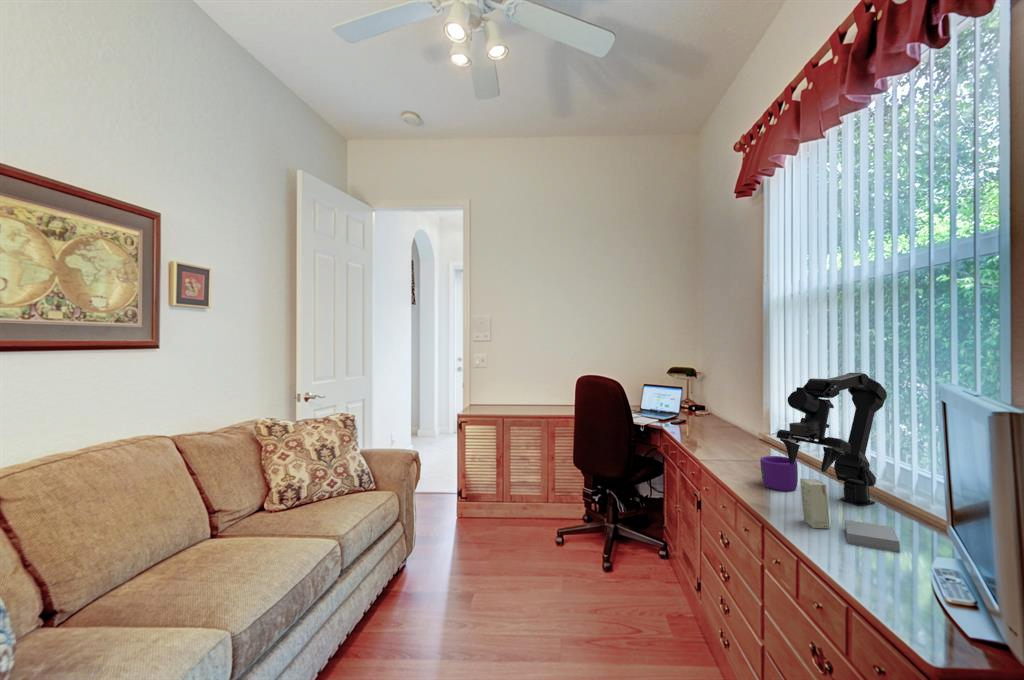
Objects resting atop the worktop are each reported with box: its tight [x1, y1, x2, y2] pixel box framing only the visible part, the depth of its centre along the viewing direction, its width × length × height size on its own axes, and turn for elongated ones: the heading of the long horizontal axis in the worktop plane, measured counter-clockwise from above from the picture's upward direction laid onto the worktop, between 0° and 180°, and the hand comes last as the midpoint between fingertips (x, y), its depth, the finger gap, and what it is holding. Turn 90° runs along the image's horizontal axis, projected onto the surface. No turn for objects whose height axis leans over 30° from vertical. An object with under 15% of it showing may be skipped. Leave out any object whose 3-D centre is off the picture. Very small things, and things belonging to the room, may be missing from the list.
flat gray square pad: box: [844, 519, 901, 553], centre depth 112 cm, size 10×10×3 cm
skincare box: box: [799, 478, 831, 529], centre depth 122 cm, size 6×4×12 cm
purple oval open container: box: [760, 455, 799, 492], centre depth 157 cm, size 17×11×10 cm, turn 152°
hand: (806, 468), depth 128 cm, fingers open, 9 cm apart
